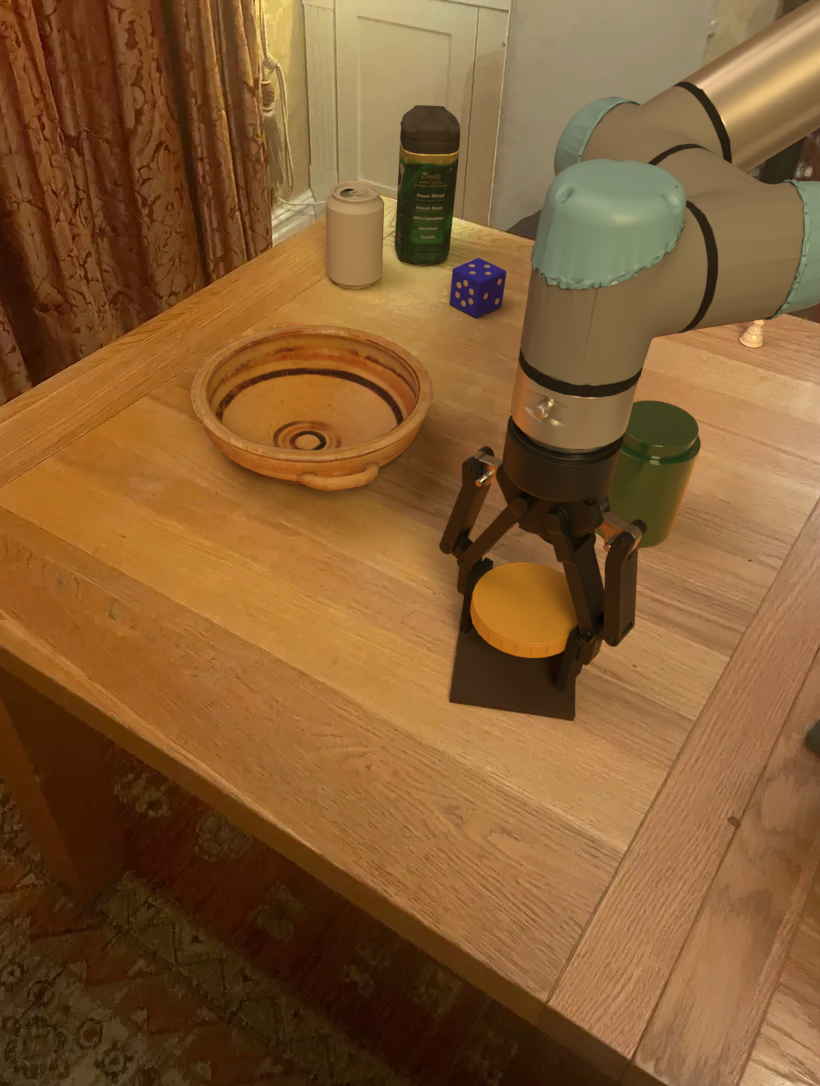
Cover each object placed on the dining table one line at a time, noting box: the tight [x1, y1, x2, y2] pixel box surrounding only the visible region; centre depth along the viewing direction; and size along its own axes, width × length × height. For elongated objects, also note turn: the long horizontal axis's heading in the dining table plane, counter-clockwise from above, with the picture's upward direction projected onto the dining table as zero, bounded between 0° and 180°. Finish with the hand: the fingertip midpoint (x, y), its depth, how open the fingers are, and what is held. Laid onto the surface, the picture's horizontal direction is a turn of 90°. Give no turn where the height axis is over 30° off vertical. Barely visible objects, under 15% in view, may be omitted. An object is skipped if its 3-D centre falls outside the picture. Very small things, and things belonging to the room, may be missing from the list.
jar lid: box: [470, 561, 578, 658], centre depth 71 cm, size 9×9×2 cm
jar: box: [595, 399, 702, 549], centre depth 86 cm, size 8×8×12 cm
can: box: [325, 180, 385, 290], centre depth 119 cm, size 8×8×12 cm
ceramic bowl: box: [190, 321, 434, 492], centre depth 94 cm, size 30×24×8 cm
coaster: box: [448, 626, 577, 722], centre depth 76 cm, size 10×10×1 cm
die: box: [449, 257, 507, 319], centre depth 117 cm, size 5×5×5 cm
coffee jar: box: [394, 104, 461, 266], centre depth 123 cm, size 10×8×19 cm
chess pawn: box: [739, 320, 766, 349], centre depth 112 cm, size 3×3×5 cm
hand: (518, 650), depth 75 cm, fingers closed on jar lid, 9 cm apart
